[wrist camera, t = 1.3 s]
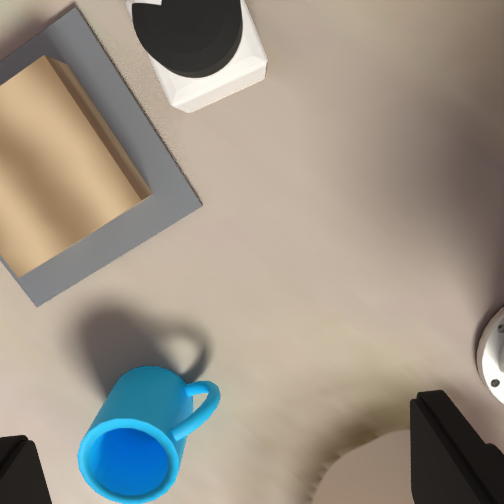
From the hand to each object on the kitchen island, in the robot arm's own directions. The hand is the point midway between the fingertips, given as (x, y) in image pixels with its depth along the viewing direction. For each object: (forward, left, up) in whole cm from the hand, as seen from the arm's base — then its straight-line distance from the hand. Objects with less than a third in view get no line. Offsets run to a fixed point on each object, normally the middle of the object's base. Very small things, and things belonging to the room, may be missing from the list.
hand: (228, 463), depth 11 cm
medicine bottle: (-5, -14, -29) cm, 32 cm away
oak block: (+11, -13, -28) cm, 33 cm away
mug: (+15, +10, -29) cm, 34 cm away
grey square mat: (+11, -13, -28) cm, 33 cm away
